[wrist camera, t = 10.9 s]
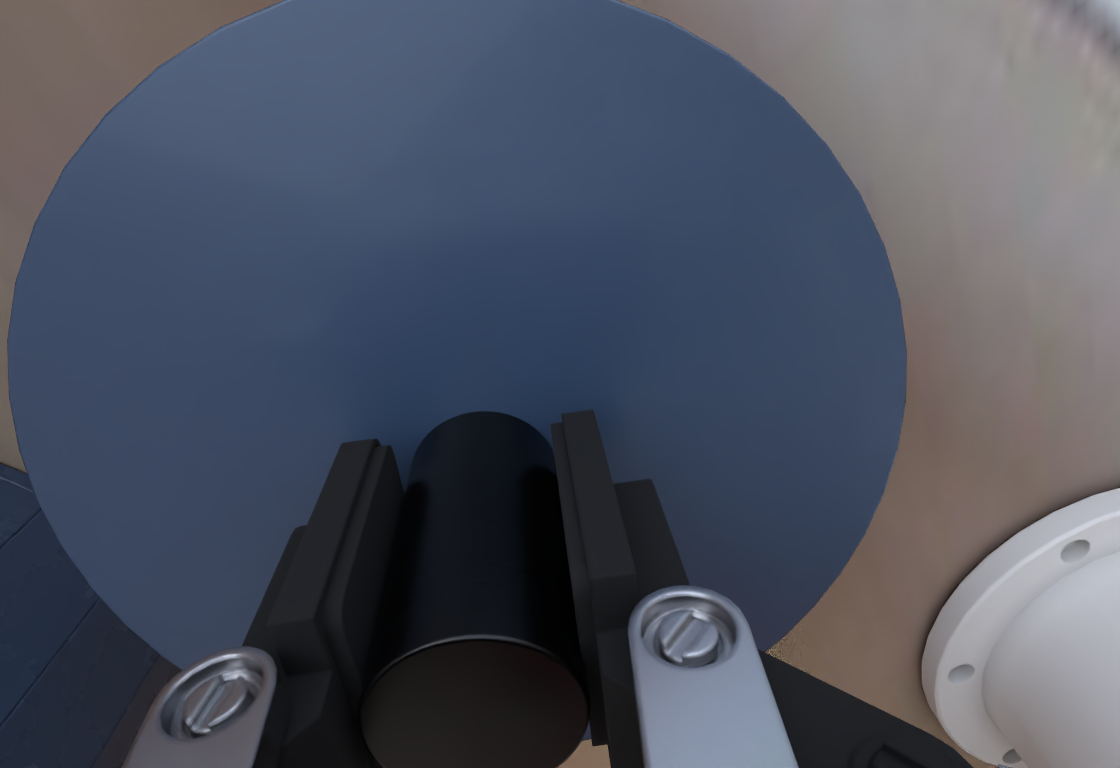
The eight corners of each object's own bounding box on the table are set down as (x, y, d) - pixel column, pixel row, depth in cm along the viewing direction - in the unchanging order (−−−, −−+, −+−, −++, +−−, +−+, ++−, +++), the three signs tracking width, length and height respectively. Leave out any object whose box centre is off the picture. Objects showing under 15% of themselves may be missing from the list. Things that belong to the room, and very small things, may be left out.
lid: (838, -173, 9) (1346, -525, 4) (897, 615, 16) (1106, 906, 10) (-173, 164, 10) (-1003, 292, 4) (294, 777, 17) (193, 1127, 11)
